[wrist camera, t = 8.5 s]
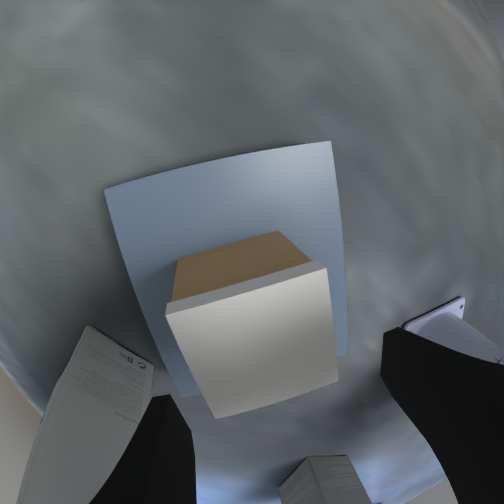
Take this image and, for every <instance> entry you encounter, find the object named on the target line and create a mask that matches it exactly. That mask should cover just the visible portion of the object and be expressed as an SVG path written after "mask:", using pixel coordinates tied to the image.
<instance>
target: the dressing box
mask: <svg viewBox="0 0 504 504" xmlns="http://www.w3.org/2000/svg"><path fill="white" fill-rule="evenodd" d="M104 193H105V197H106V201H107V205H108V209H109V213H110V216H111V220H112V223H113V227H114V230H115V234H116V237H117V240H118V244H119V247H120V250H121V253H122V256H123V259H124V262H125V266H126V268H127V271H128V274H129V277H130V280H131V283H132V286H133V289H134V291H135V294H136V297H137V299H138V302H139V305H140V307H141V310H142V312H143V315H144V318H145V320H146V323H147V325H148V327H149V330H150V332H151V335H152V337H153V339H154V342H155V344H156V346H157V349H158V351H159V353H160V355H161V358H162V360H163V362H164V364H165V366H166V369H167V371H168V373H169V375H170V377H171V379H172V381H173V383H174V385H175V387H176V389H177V391H178V393H179V395H180V397H181V398H187V397H192V396H198V395H202V393H201V391H200V389H199V387H198V385H197V383H196V381H195V379H194V377H193V375H192V373H191V371H190V369H189V367H188V365H187V363H186V361H185V358H184V356H183V354H182V352H181V350H180V348H179V346H178V343H177V341H176V339H175V337H174V334H173V332H172V330H171V328H170V325H169V323H168V321H167V318H166V316H165V313H166V307H167V303H170V302H171V301H172V294H173V287H174V281H175V274H176V268H177V262H178V259H180V258H183V257H186V256H190V255H193V254H197V253H200V252H204V251H207V250H211V249H214V248H218V247H221V246H225V245H228V244H232V243H235V242H239V241H242V240H246V239H249V238H253V237H256V236H260V235H264V234H267V233H271V232H274V231H278V230H279V231H280V232H281V233H282V234H283V235H284V236H285V237H287V238H288V239H289V240H290V241H291V242H292V243H293V244H294V245H295V246H297V247H298V248H299V249H300V250H301V251H302V252H303V253H304V254H305V255H306V256H308V257H309V258H310V259H311V260H312V261H314V260H318V261H319V262H320V263H322V264H323V265H324V266H325V267H326V268H327V275H328V282H329V290H330V298H331V306H332V315H333V324H334V333H335V343H336V354H337V358H339V357H342V356H345V355H347V354H348V322H347V293H346V274H345V259H344V246H343V235H342V224H341V214H340V205H339V197H338V189H337V181H336V174H335V166H334V160H333V153H332V147H331V141H323V142H313V143H304V144H297V145H290V146H284V147H277V148H271V149H265V150H260V151H254V152H249V153H243V154H238V155H233V156H228V157H223V158H219V159H214V160H209V161H205V162H200V163H196V164H192V165H188V166H183V167H179V168H175V169H171V170H167V171H164V172H160V173H156V174H152V175H149V176H145V177H141V178H138V179H134V180H131V181H128V182H124V183H121V184H118V185H115V186H112V187H110V188H107V189H104Z"/></svg>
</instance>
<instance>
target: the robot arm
mask: <svg viewBox="0 0 504 504" xmlns="http://www.w3.org/2000/svg"><path fill="white" fill-rule="evenodd" d="M464 304H465V298H463V297H459V298H457V299H456V300H454V301H452V302H450V303H448V304H446V305H444V306H442V307H440V308H438V309H436V310H434V311H432V312H430V313H428V314H426V315H423V316H421V317H419V318H417V319H415V320H413V321H411V322H408V323H407V324H406V325H405V326H404V329H402V328H399V327H397V328H395V329H392V330H390V331H387V332H385V333H384V335H383V350H382V362H381V372H380V376H381V378H382V379H383V381H384V383H385V385H386V386H387V388H388V390H389V392H390V393H391V395H392V397H393V398H394V399H395V401H396V402H397V403H398V404H399V406H400V407H401V408H402V410H403V411H404V412H405V413H406V415H407V416H408V417H409V418H410V420H411V421H412V422H413V424H414V425H415V426H416V427H417V429H418V430H419V431H420V432H421V434H422V435H423V436H424V438H425V439H426V440H427V442H428V443H429V445H430V446H431V448H432V450H433V452H434V453H435V455H436V457H437V459H438V460H439V462H440V464H441V466H442V468H443V470H444V472H445V474H446V476H447V478H448V480H449V482H450V484H451V486H452V489H453V491H454V493H455V496H456V498H457V501H458V504H504V350H502V349H501V348H500V347H498V346H497V345H496V344H494V343H493V342H492V341H491V340H489V339H488V338H487V337H485V336H484V335H483V334H481V333H480V332H479V331H477V330H476V329H474V328H473V327H472V326H470V325H469V324H468V323H466V322H465V321H464V320H462V315H463V310H464ZM89 504H197V501H196V473H195V454H194V447H193V440H192V434H191V430H190V428H189V427H188V425H187V423H186V422H185V420H184V418H183V416H182V415H181V413H180V411H179V409H178V408H177V406H176V404H175V402H174V400H173V399H172V397H171V395H170V394H169V395H163V396H156V397H152V399H151V401H150V403H149V405H148V407H147V409H146V411H145V413H144V415H143V417H142V419H141V421H140V423H139V425H138V427H137V429H136V431H135V432H134V434H133V436H132V438H131V440H130V442H129V444H128V446H127V447H126V449H125V451H124V453H123V455H122V456H121V458H120V460H119V461H118V463H117V465H116V466H115V468H114V470H113V471H112V473H111V474H110V476H109V477H108V479H107V480H106V482H105V483H104V485H103V486H102V487H101V489H100V490H99V491H98V493H97V494H96V495H95V497H94V498H93V499H92V500H91V501H90V503H89Z"/></svg>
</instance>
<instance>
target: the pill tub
mask: <svg viewBox="0 0 504 504" xmlns="http://www.w3.org/2000/svg"><path fill="white" fill-rule="evenodd" d="M165 316H166V318H167V321H168V323H169V325H170V328H171V330H172V332H173V334H174V337H175V339H176V341H177V343H178V346H179V348H180V350H181V352H182V354H183V356H184V358H185V361H186V363H187V365H188V367H189V369H190V371H191V373H192V375H193V377H194V379H195V381H196V383H197V385H198V387H199V389H200V391H201V393H202V395H203V397H204V399H205V401H206V403H207V404H208V406H209V408H210V410H211V412H212V414H213V416H214V417H215V419H219V418H223V417H228V416H232V415H236V414H239V413H243V412H247V411H251V410H254V409H258V408H261V407H265V406H268V405H271V404H275V403H278V402H281V401H284V400H287V399H290V398H293V397H296V396H299V395H302V394H305V393H308V392H311V391H314V390H316V389H319V388H322V387H324V386H327V385H330V384H332V383H335V382H337V381H339V379H338V366H337V354H336V343H335V333H334V324H333V315H332V306H331V298H330V290H329V282H328V275H327V268H326V267H325V266H324V265H323V264H322V263H320V262H319V261H318V260H314V261H312V260H311V259H310V258H309V257H308V256H306V255H305V254H304V253H303V252H302V251H301V250H300V249H299V248H298V247H297V246H295V245H294V244H293V243H292V242H291V241H290V240H289V239H288V238H287V237H285V236H284V235H283V234H282V233H281V232H280V231H279V230H278V231H274V232H271V233H267V234H264V235H260V236H256V237H253V238H249V239H246V240H242V241H239V242H235V243H232V244H228V245H225V246H221V247H218V248H214V249H211V250H207V251H204V252H200V253H197V254H193V255H190V256H186V257H183V258H180V259H178V262H177V268H176V274H175V281H174V287H173V294H172V301H171V302H170V303H167V307H166V313H165Z"/></svg>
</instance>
